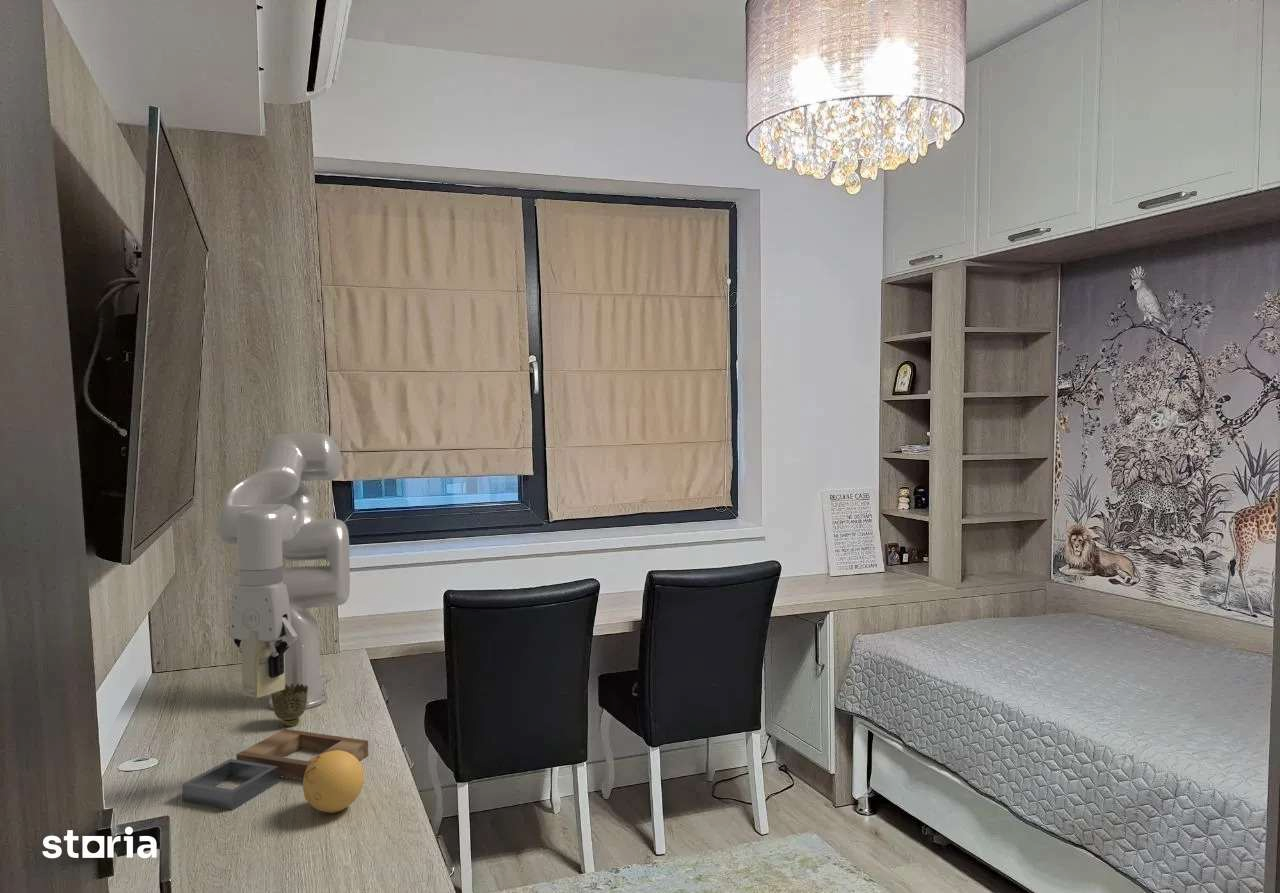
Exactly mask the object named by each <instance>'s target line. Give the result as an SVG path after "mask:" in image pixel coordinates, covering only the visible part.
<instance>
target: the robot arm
mask: <svg viewBox="0 0 1280 893" xmlns="http://www.w3.org/2000/svg"><path fill="white" fill-rule="evenodd" d="M342 461H343V459H342V455H341V451H340V448H339V446H338V445H337V443H336V442H335V440H334V439H333V438H332V437H331V436H330V435H328V434H326V433H322V432H321V433H320V432H306V433H305V432H302V433H301V432H294V433H292V432H291V433H290V432H287V433H279V434H274V435H273V436H271V437H270V438H269V439H267V441H266V442H265V445H264V447H263V450H262V452H261V453H260V461H259V464H258V469H257V472H255V473H252V474H250V475H249V476H247V477H245V478H244V479H243V480H240V481H239V482H237V483H236V484H234V485H233V486H231V488H230V489H229V490H228V491H227V492H226V494H225V496H224V497H223V502H222V504H221V507H220V510H219V512H218V517H217V524H216V526H217V528H216V529H217V534H218V536H219V538H220V540H221V541H222V542H223V543H225V544H226V545H232V546H234V545H237V569H236V570H235V572H234V574H235V576H236V577H237V578H238V583H237V584H235V585H234V589H233V592H232V593H233V594H232V597H231V598H232V599H231V608H230V628H229V629H228V630H227V632H226V634H227V636H228V637H230V638H231V639H232V641H233V642H234V644H235V646H237V648H238V652H239V653H240V654H241V655H242V640H247V639H249V633H250V631H251V632H258V640H259V641H260V642H268V644H269V647H270V651H271V654H272V656H270V657H269V677H270V678H275V677H277V676H279V675H282V674H283V673H284V653H285V684H287V685H288V686H289V687H290V685H291V684H292V683H293V684H294V687H295V686H296V685H297V684H298V683H299V684H300V685H301V684H303V686H304V687H305V685H307V686H308V693H307V703H306V708H305V710H306V709H310V708H314V707H316V706H319V705H321V704H322V703H325V701H326V700H327V699H328V691H326V690H324V689H323V687H324V685H326V684H328V683H329V682H331V681H332V680H333V676H332V674H330V673H327V674H325V675H322V676H320V675H321V674H320V673H321V670H320V669H321V668H320V644H319V643H320V632H319V631H320V630H319V625H318V622H317V619H316V618H315V617H314V616H313V614H312V613H311V612H310V611H309V609H312V608H323V607H324V608H327V607H328V608H329V607H335V606H336V607H338V606H342V605H344V604H346V603H347V601H348V599H349V597H350V589H351V588H350V587H351V579H350V578H351V574H350V573H351V572H350V569H351V568H350V566H351V564H350V537H349V528H348V527H347V524H346V523H345V522H344V521H343V520H341V519H338V518H337V519H336V518H317V517H316V498H315V495H314V494H313V493H312V492H311V490H310V489H309V487H307V485H306V484H304V483H303V482H304V481H305V482H307V481H308V482H309V481H312V482H313V481H315V482H316V481H332V480H336V479H337V478H338V477H339V476H340V473H341V471H342V466H343V462H342ZM283 560H284V561H293V562H296V561H299V562H302V561H319V560H320V561H321V560H323V561H327V562H328V563H329V565H327V564H326V565H312V566H311V565H304V566H290V567H288V566H287V567H284V564H283ZM276 641H277V642H278V647H277V645H276ZM268 706H269V707H270V708H271V709H273V703H272V696H271V697H270V698H269V700H268Z"/></svg>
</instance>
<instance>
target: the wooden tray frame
mask: <svg viewBox="0 0 1280 893" xmlns="http://www.w3.org/2000/svg"><path fill="white" fill-rule="evenodd" d="M299 749H300V750H303V749H306V751H310V750H311V751H312V752H317V753H319V754H317V755H315V756H313V757H311V758H310V759H309V760H301V759H295V758H290V757H289V756H291V755H292V753H293V754H294V753H297V752H298V751H300V750H299ZM334 750H340V751H345V752H348V753H350V754H352V755H353V756H355V757H356V758H357V759H358V761H359V762H361V761H363V760H364V759H366V758H367V757H368V756H369V740H366V739H360V738H354V737H345V736H338V735H332V734H331V735H330V734H324V733H318V732H317V733H316V732H311V731H310V732H309V731H303V730H296V729H295V730H294V729H289V728H284V729H282V730H280V731H278V732H276V733H274V734H272V735H270V736H268V737H267V738H265V739H263V740H261V741H259V742H257V743H255V744H252V745H251V746H249V747H248V748H246V749H244V750H242V751H240V752H238V753H236V760H241V761H247V762H253V763H260V764H266V765H272V766H278V773H279V776H283V777H282V778H285V777H288V778H287V779H291V778H295V779H294V780H297V779H301V780H300V781H303V779H304V775H305V770H306V768H307V767H308V765H310V764H311V763H312V762H313V761H314V759H315V758H316V757H317V756H319V755H321V754H323V753H326V752H329V751H334ZM311 751H310V752H311ZM290 754H291V755H290ZM288 755H289V756H288ZM286 756H287V757H286ZM284 757H286V758H284Z"/></svg>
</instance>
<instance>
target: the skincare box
mask: <svg viewBox="0 0 1280 893" xmlns="http://www.w3.org/2000/svg"><path fill="white" fill-rule="evenodd" d="M276 645H277V647H278V642H277V641H276ZM270 656H272V654H271V651H270V647H269V644H268V642H260V641H259V640H258V632H251V631H250V633H249V639H247V640H242V654H241V674H242V675H241V681H242V684H241V685H242V686H241V690H242V695H245V696H248V697H251V698H255V699H257V698H261V697H265V696H268V695H271V694H272V693H275V692H278V691H281V690H284V689H285V653H284V673H283V674H282V675H279V676H277V677H275V678H270V677H269V657H270Z"/></svg>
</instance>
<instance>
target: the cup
mask: <svg viewBox="0 0 1280 893" xmlns="http://www.w3.org/2000/svg"><path fill="white" fill-rule="evenodd" d="M307 693H308V686H307V685H305V687H304V686H303V684H301V685H300V684H299V683H298V684H297V685H296V686H295V687H294V684H293V683H292V684H291V685H290V687H289V686H288V685H287V684H285V689H284V690H281V691H278V692H275V693H272V694H270V695H271V697H272V703H273V708H272V709H273V712H274V714H275V716H276V717H277V718H278V719H280V721H281V722H280V723H281V726H283V727H285V726H291V727H295V726H297V725H298V724H299V723H300V720H301V719H300V717H301V716H302V715H303V714H304V713H305V711H306V709H305V708H306V703H307ZM294 725H295V726H294Z"/></svg>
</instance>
